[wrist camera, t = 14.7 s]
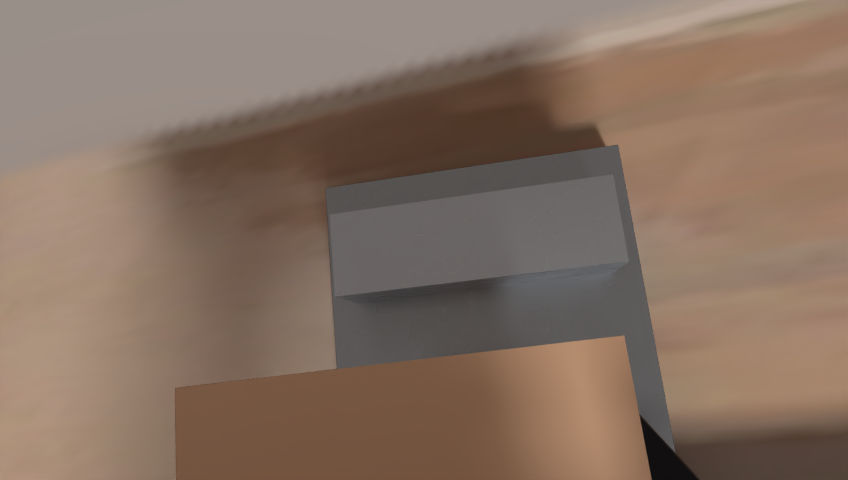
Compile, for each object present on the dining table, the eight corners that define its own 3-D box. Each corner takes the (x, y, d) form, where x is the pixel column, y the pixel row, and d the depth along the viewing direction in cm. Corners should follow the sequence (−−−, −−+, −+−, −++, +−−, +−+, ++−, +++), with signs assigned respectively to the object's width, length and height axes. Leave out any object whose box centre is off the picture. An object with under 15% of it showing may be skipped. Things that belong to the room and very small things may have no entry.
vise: (724, 776, 18) (787, 903, 14) (375, 776, 20) (339, 888, 16) (611, 157, 23) (632, 115, 19) (336, 197, 25) (300, 166, 20)
